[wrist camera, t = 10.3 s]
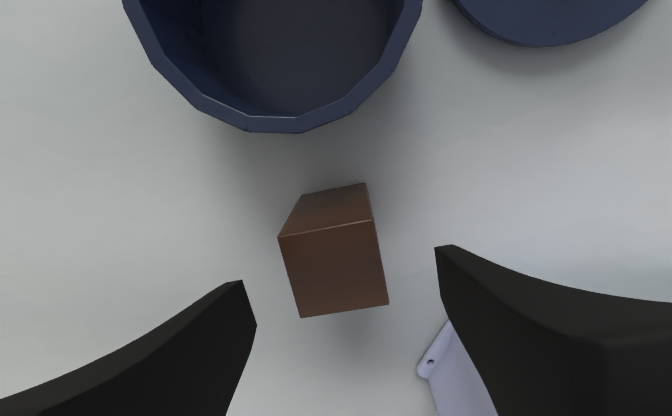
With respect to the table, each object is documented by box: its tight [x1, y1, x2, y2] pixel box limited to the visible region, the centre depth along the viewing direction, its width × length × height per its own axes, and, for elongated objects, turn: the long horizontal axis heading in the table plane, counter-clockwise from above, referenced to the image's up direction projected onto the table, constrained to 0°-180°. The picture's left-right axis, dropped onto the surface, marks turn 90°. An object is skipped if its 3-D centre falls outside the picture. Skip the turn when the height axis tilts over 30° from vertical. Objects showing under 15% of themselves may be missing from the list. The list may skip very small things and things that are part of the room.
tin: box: [122, 0, 423, 134], centre depth 14 cm, size 11×11×6 cm
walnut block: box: [277, 183, 389, 318], centre depth 17 cm, size 4×4×7 cm
